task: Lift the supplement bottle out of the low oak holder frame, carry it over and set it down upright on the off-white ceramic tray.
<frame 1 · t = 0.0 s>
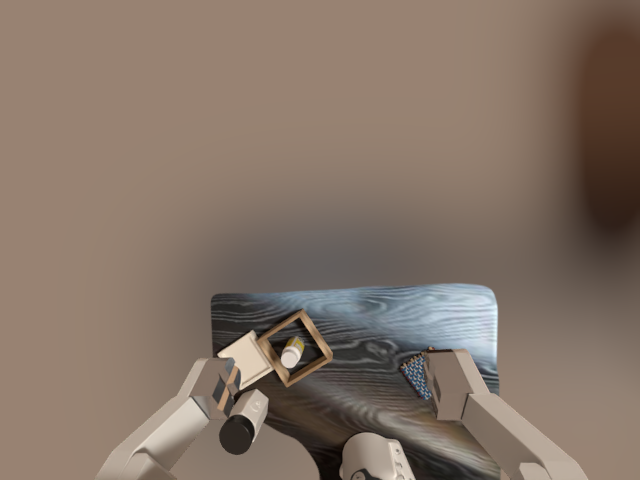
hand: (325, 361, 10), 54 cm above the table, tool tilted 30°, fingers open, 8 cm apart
tray: (248, 358, 69), on the table
jar: (255, 402, 69), on the table
supplement bottle: (296, 343, 67), resting in holder frame
holder frame: (296, 344, 67), on the table
woven mat: (426, 370, 63), on the table
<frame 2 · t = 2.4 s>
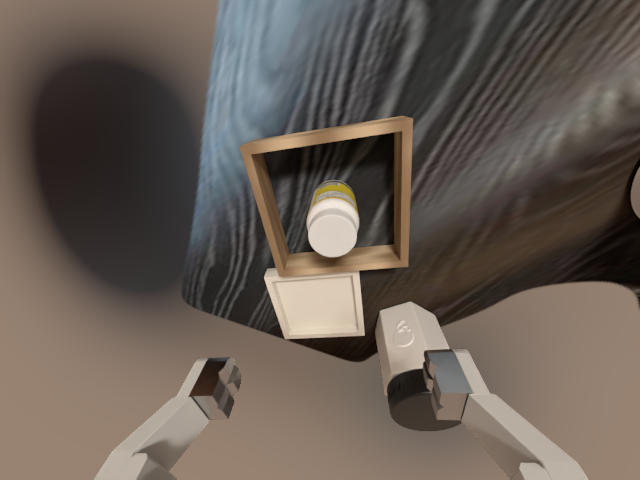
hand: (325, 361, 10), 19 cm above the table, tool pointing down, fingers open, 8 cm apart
tray: (318, 298, 34), on the table
jar: (403, 321, 36), on the table
supplement bottle: (333, 199, 27), resting in holder frame
holder frame: (333, 200, 27), on the table
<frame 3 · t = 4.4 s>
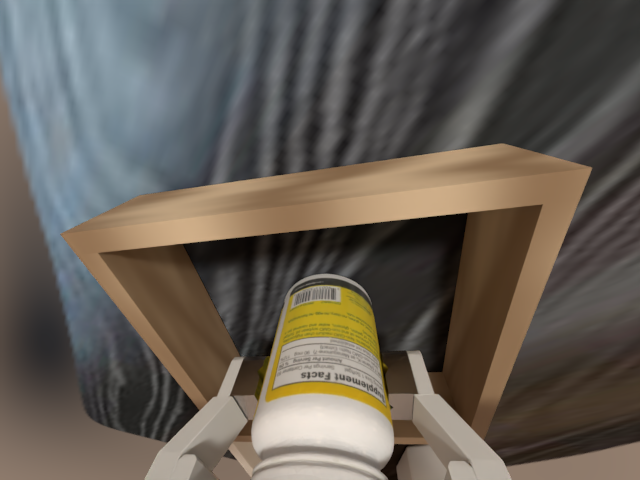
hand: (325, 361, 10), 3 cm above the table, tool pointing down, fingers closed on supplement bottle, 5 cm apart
tray: (305, 429, 21), on the table
jar: (442, 456, 22), on the table
supplement bottle: (328, 302, 13), resting in holder frame, touching gripper
holder frame: (328, 305, 13), on the table
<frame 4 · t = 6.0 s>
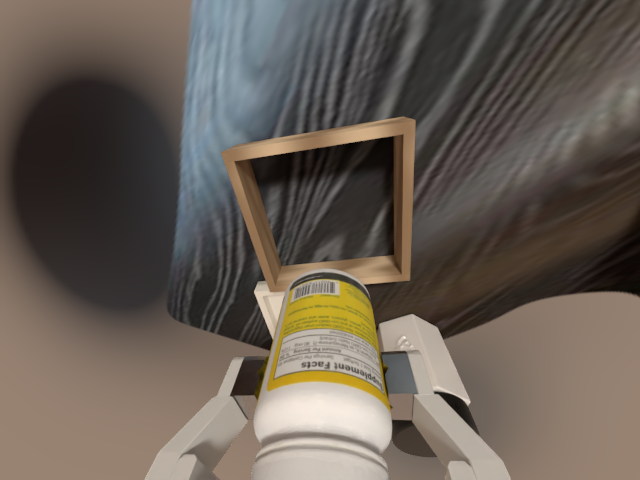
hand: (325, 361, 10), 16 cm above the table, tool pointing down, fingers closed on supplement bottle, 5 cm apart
tray: (313, 312, 32), on the table
jar: (403, 334, 34), on the table
supplement bottle: (327, 296, 14), point 13 cm above the table, touching gripper
holder frame: (328, 208, 24), on the table
when the fingers open (14 cm above the table, at t = 7.7 s): supplement bottle drops 7 cm, resting on tray.
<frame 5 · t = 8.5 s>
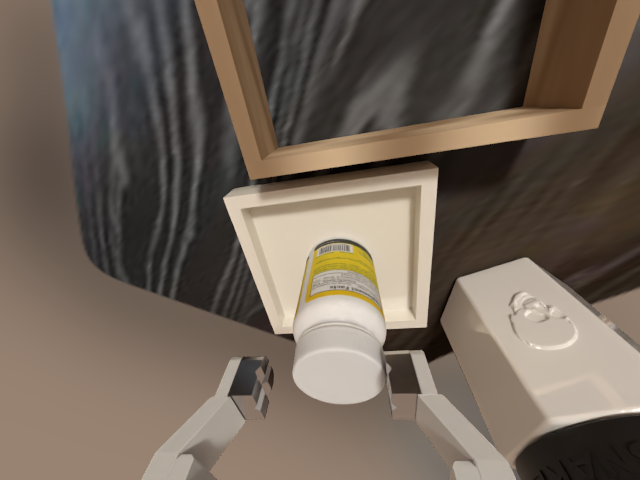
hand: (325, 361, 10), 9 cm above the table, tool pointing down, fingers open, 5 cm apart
tray: (337, 255, 18), on the table
jar: (496, 301, 19), on the table
supplement bottle: (339, 261, 17), resting on tray, touching gripper
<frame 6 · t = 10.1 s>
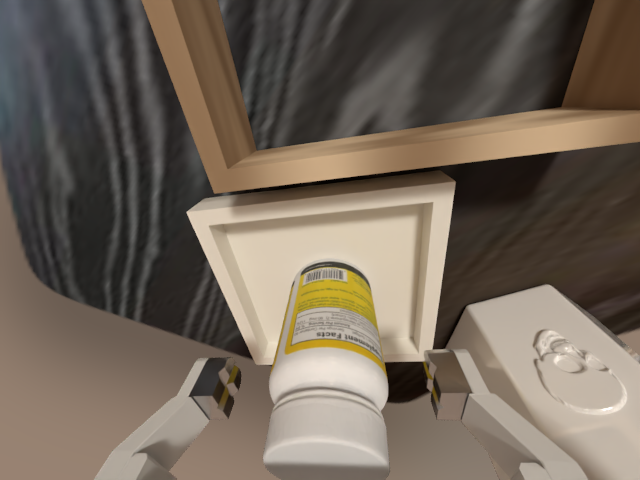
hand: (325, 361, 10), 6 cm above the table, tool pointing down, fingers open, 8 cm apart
tray: (329, 278, 15), on the table
jar: (509, 330, 17), on the table
supplement bottle: (331, 285, 15), resting on tray
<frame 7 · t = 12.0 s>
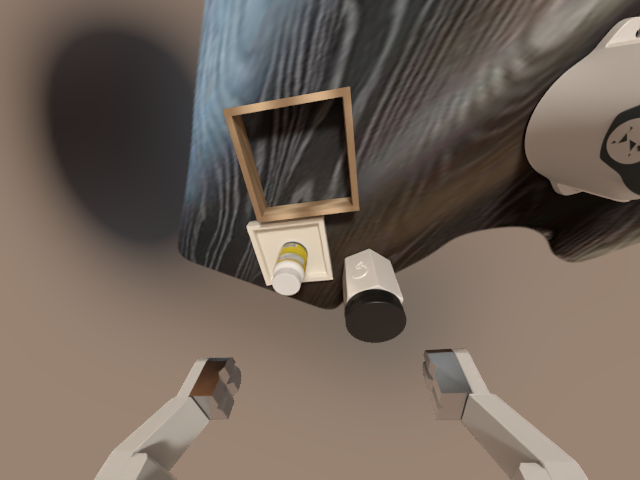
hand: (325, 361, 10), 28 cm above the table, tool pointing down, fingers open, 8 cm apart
tray: (293, 248, 41), on the table
jar: (365, 268, 43), on the table
supplement bottle: (294, 251, 41), resting on tray
holder frame: (300, 158, 33), on the table
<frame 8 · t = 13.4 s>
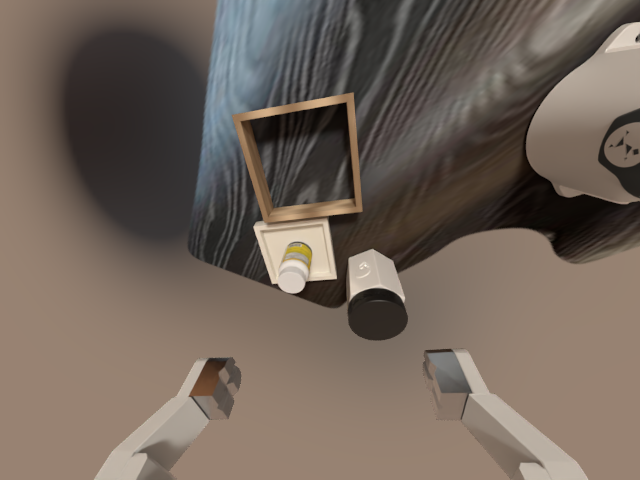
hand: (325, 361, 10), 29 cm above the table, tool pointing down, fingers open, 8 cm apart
tray: (298, 248, 42), on the table
jar: (368, 268, 44), on the table
supplement bottle: (299, 250, 42), resting on tray
holder frame: (305, 161, 35), on the table
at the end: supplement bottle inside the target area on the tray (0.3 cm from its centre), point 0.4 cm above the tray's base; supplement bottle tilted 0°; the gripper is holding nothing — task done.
